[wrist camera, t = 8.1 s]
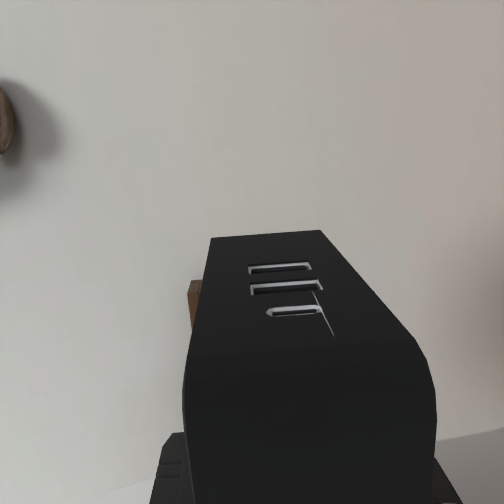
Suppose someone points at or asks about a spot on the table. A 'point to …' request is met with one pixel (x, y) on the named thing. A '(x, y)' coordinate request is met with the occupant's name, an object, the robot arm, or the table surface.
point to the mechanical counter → (5, 122)
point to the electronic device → (302, 382)
